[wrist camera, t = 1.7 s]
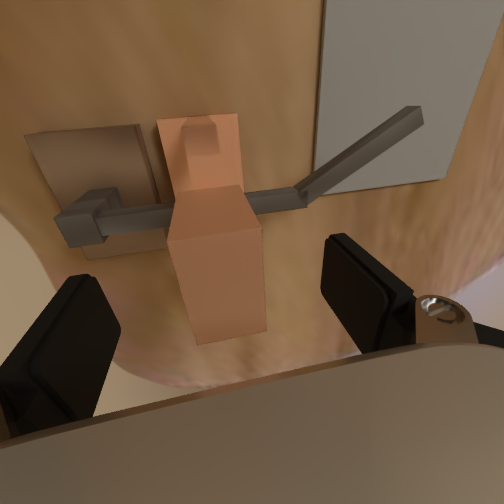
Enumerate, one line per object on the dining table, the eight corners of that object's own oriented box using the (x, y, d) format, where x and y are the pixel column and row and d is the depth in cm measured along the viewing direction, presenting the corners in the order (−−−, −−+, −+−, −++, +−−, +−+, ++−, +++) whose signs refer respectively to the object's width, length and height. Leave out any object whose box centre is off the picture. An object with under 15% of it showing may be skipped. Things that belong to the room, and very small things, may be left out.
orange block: (158, 119, 19) (73, 153, 6) (235, 112, 19) (311, 130, 7) (186, 237, 24) (175, 389, 11) (245, 228, 25) (297, 361, 12)
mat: (328, -64, 15) (331, -68, 15) (524, -62, 17) (531, -65, 17) (311, 194, 24) (312, 196, 24) (441, 177, 26) (444, 178, 26)
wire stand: (39, 132, 18) (-47, 147, 11) (361, 104, 21) (432, 105, 15) (95, 248, 23) (57, 303, 17) (345, 212, 26) (392, 246, 20)
